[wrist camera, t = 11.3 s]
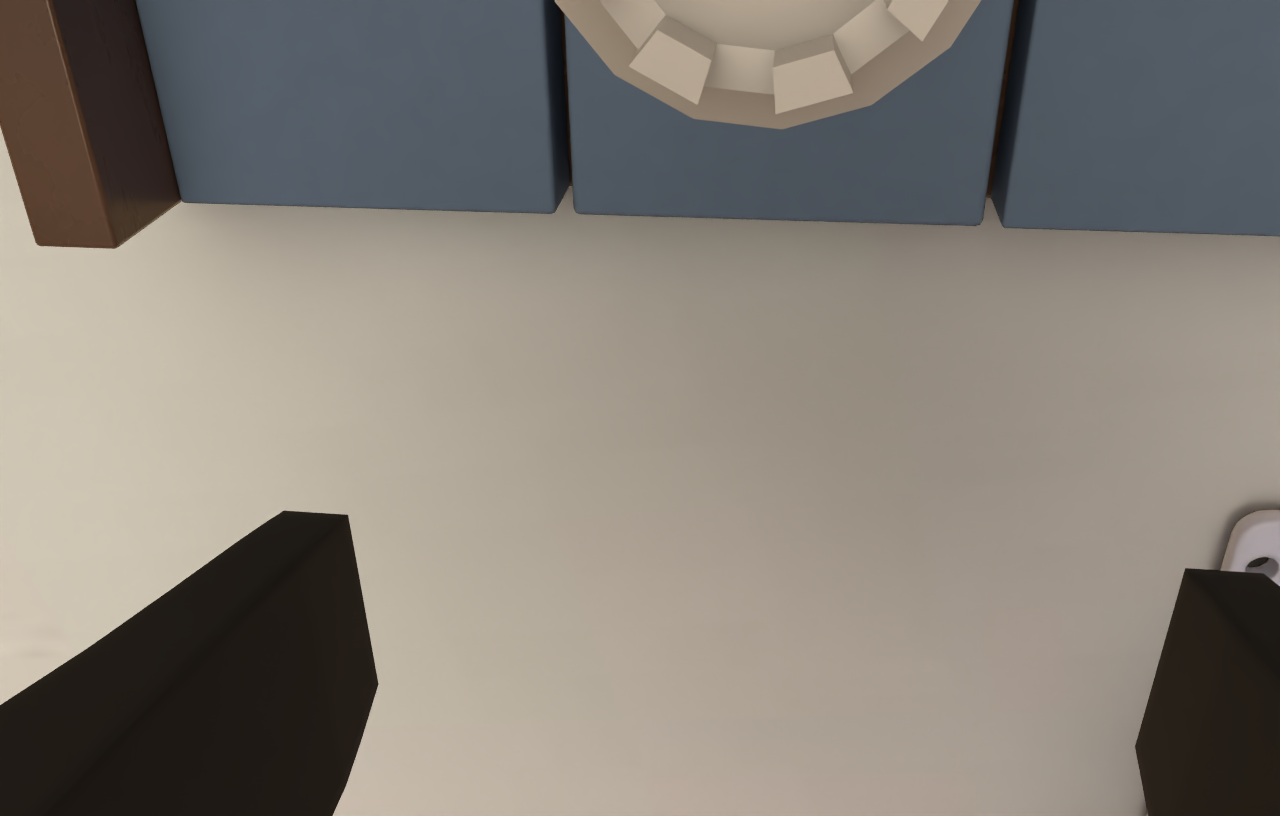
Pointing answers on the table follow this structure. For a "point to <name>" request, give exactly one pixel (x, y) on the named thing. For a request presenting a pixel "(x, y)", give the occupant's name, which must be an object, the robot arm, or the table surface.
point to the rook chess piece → (767, 52)
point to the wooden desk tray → (630, 119)
